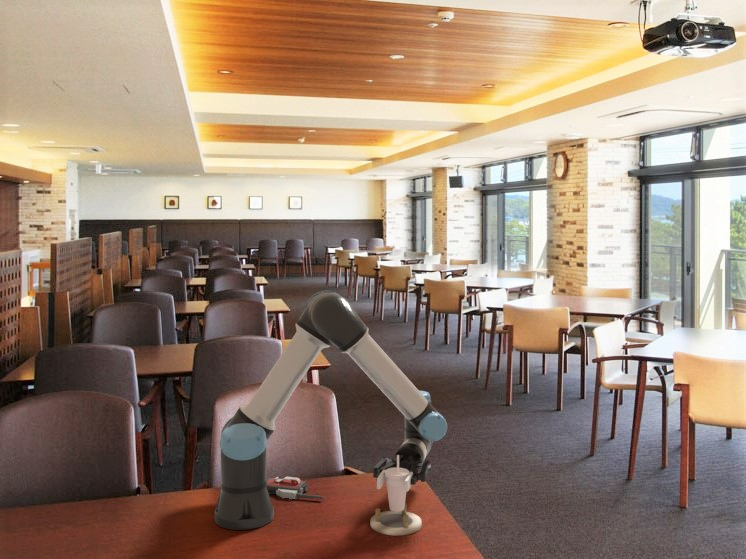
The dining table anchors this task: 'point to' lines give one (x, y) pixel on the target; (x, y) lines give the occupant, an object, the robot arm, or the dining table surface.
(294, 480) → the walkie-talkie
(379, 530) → the cup holder base
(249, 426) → the robot arm
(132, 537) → the dining table surface
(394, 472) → the smoothie
